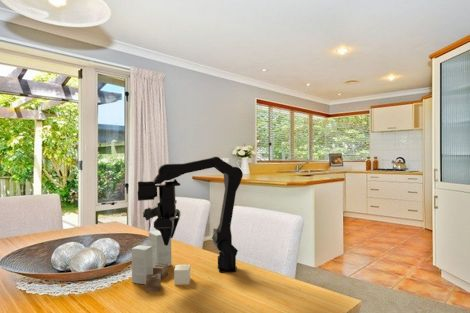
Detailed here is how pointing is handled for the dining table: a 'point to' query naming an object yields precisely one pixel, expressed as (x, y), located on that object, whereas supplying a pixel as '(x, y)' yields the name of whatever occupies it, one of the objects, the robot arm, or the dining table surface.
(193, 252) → the dining table surface
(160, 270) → the walnut block
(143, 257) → the skincare box
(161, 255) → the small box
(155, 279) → the walnut block
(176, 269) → the cream block
